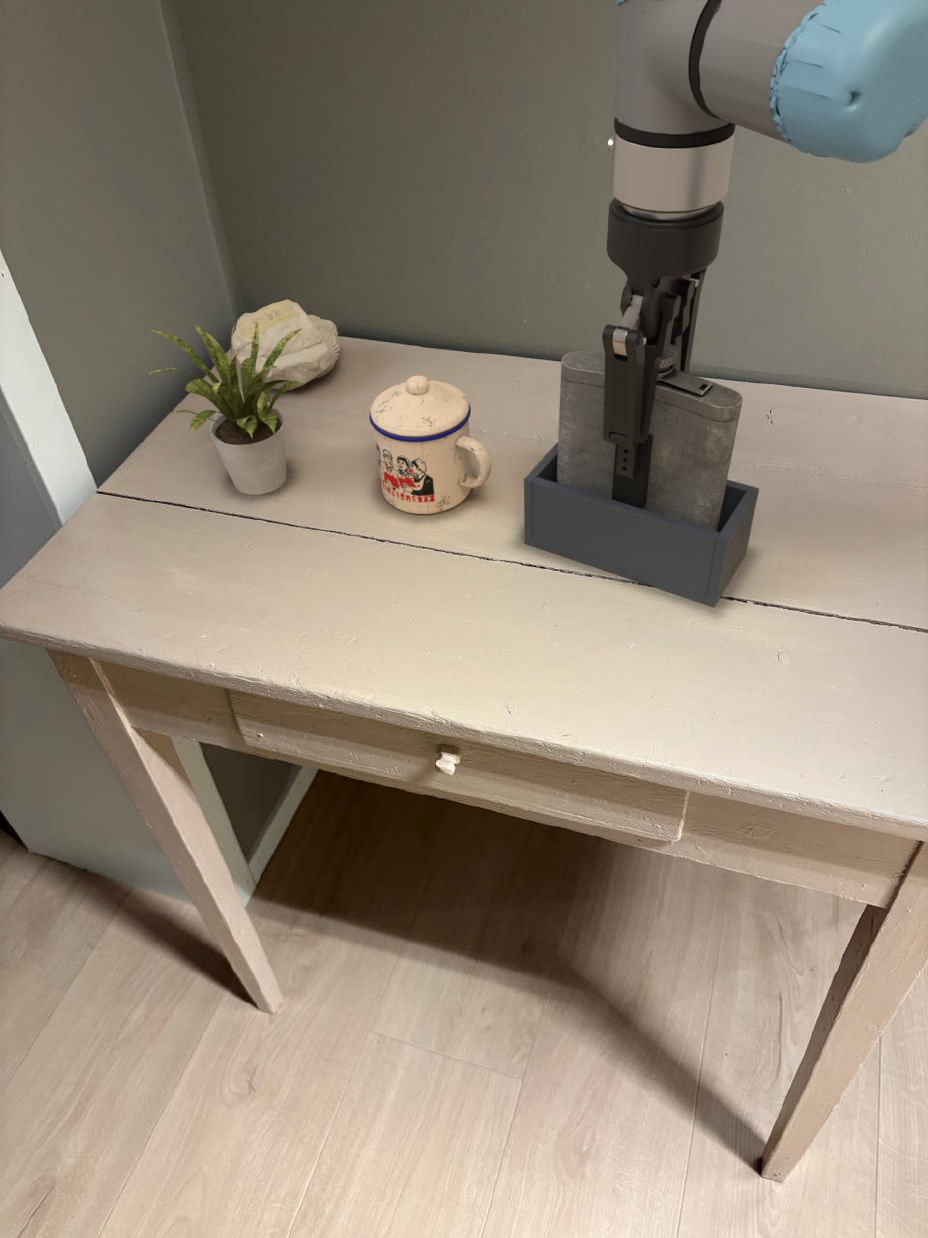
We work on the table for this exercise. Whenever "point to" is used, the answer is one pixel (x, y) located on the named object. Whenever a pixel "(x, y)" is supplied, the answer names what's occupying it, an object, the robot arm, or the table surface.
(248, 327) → the fossil replica
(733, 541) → the holder
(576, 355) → the flask
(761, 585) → the table surface
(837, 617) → the table surface
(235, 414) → the house plant
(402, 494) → the teacup with lid
